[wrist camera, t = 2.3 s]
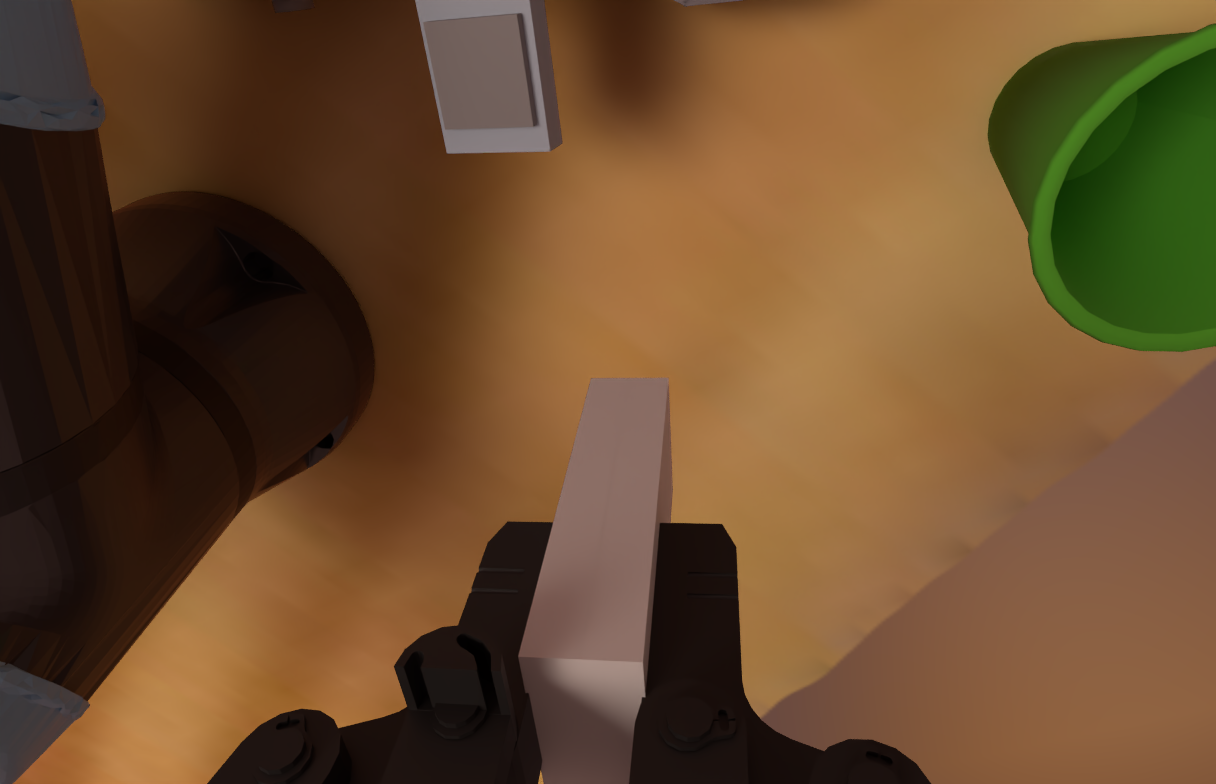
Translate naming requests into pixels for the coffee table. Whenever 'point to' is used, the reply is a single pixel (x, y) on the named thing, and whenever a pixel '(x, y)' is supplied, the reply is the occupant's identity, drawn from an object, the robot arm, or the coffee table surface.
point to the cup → (1118, 184)
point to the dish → (701, 2)
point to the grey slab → (491, 74)
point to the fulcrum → (292, 5)
